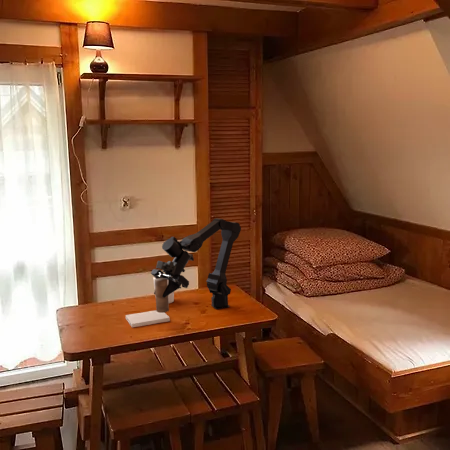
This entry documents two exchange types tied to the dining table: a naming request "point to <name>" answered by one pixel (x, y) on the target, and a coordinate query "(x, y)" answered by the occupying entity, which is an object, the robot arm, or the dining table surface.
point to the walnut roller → (161, 302)
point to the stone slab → (146, 318)
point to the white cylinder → (170, 296)
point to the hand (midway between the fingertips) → (159, 295)
